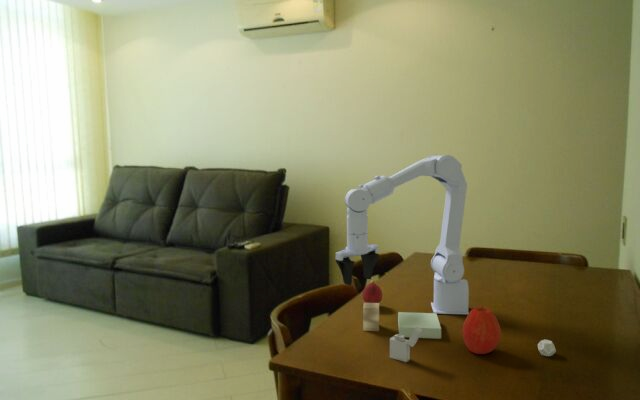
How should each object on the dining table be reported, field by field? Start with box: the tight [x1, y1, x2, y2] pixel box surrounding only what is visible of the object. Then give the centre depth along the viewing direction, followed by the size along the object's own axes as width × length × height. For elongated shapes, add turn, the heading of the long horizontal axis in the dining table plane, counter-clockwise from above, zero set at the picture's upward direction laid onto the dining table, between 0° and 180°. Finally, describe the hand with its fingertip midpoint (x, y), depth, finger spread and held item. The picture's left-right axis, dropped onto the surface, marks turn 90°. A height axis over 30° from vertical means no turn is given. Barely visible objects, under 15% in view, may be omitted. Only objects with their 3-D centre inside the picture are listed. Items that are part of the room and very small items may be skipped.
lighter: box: [389, 326, 423, 363], centre depth 96 cm, size 7×2×8 cm, turn 54°
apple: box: [461, 305, 502, 355], centre depth 99 cm, size 8×8×11 cm
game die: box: [537, 338, 557, 357], centre depth 98 cm, size 4×4×3 cm
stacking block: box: [397, 311, 442, 340], centre depth 113 cm, size 10×10×3 cm
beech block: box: [362, 302, 380, 332], centre depth 114 cm, size 4×4×6 cm
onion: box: [361, 279, 383, 304], centre depth 129 cm, size 6×6×8 cm
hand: (357, 281), depth 122 cm, fingers open, 7 cm apart
